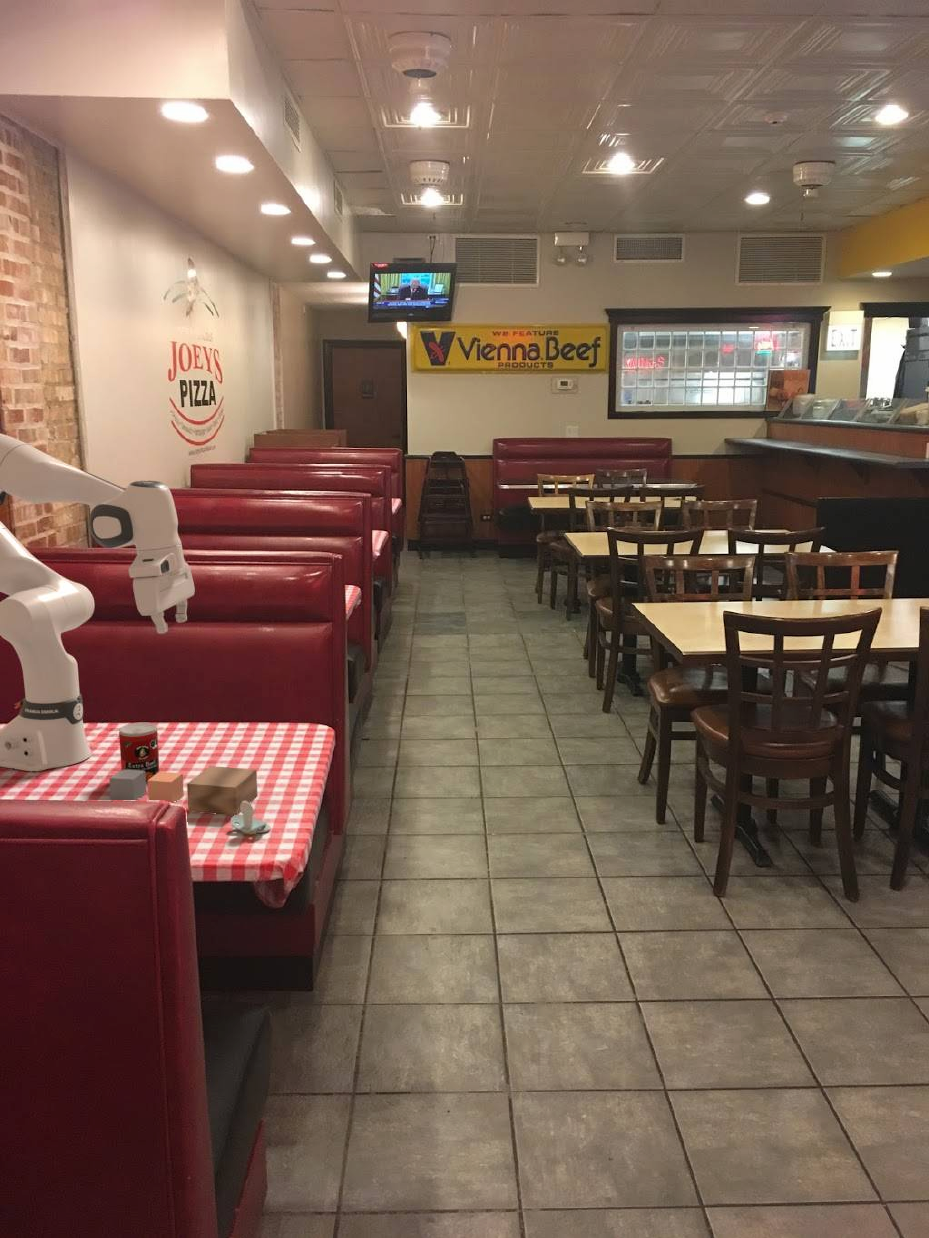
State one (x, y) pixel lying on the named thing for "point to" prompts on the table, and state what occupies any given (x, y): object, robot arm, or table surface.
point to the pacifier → (248, 820)
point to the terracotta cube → (166, 787)
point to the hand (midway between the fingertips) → (172, 627)
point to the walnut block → (221, 790)
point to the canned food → (139, 748)
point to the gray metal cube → (128, 785)
